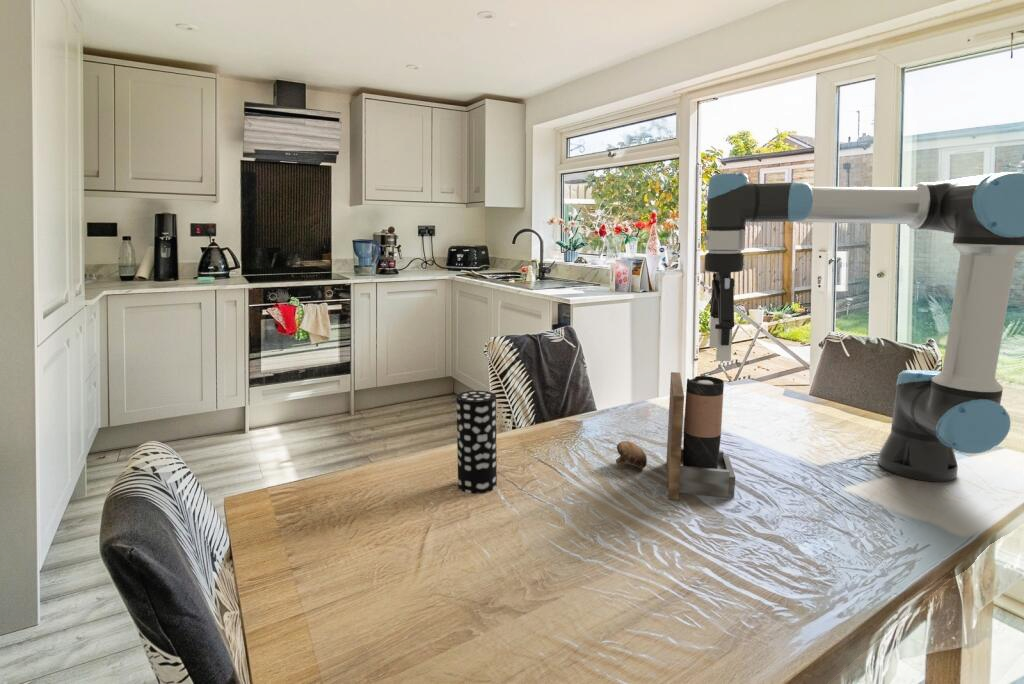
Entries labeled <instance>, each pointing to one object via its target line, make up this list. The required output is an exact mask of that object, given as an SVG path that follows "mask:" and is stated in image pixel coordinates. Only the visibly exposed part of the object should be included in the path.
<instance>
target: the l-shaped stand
mask: <svg viewBox="0 0 1024 684" xmlns="http://www.w3.org/2000/svg"><path fill="white" fill-rule="evenodd" d="M682 381H683V380H682V377H681V372H674V371H673V372H672V371H671V372H670V387H669V405H668V424H667V441H666V444H667V445H666V462H665V463H666V480H667V481H666V482H667V499H668V500H671V501H679V499H680V494H686V495H687V494H689V495H699V496H700V495H701V496H710V497H711V496H712V497H723V498H733V499H735V491H736V490H735V488H736V475H735V471H734V468H733V465H732V463H731V460H730V455H729V454H725V452H724V450H720V449H719V459H718V468H717V469H712V468H700V467H688V466H683V445H682V444H683V443H682V442H683V441H682V438H683V428H684V409H685V393H684V388H683V382H682Z"/></svg>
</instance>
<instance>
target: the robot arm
mask: <svg viewBox="0 0 1024 684" xmlns="http://www.w3.org/2000/svg"><path fill="white" fill-rule="evenodd" d="M749 181H750V180H749V176H748V174H746V173H743V172H739V173H738V172H735V173H734V172H730V173H717V174H714V175H712V176H711V177H710V178H709V181H708V190H707V197H706V201H707V203H706V233H705V234H706V235H705V234H704V235H703V236H702V240H703V241H706V242H705V250H706V251H708V252H706V253H705V254H704V266H703V267H704V268H703V269H704V270H705V272H709V273H710V272H711V273H713V274H712V281H711V298H710V307H709V308H710V309H709V313H710V323H709V324H710V327H709V346H708V347H709V348H710V349H711V348H713V349H715V348H716V352H715V361H716V362H731V361H732V359H731V358H732V343H733V342H732V341H733V328H734V327H735V307H734V306H735V304H734V303H735V298H734V294H735V293H734V288H735V278H733V277H732V273H739V272H742V271H743V270H744V260H745V259H744V258H745V254H743V252H742V251H744V250H745V245H746V243H745V242H746V223H748V222H749V223H763V222H764V223H765V222H767V223H772V222H773V223H825V224H827V223H828V224H829V223H833V224H835V223H838V224H880V225H881V224H887V225H888V224H889V225H891V224H893V225H897V224H898V225H907V227H909V228H910V229H911V230H912V229H913V230H930V231H937V232H944V233H949V234H950V233H951V234H953V241H952V246H953V247H954V248H955V249H956V250H957V251H958V252H959V254H960V256H959V261H958V268H957V272H956V273H957V274H956V281H955V286H954V287H955V288H954V294H953V299H952V305H951V306H952V307H951V312H950V317H949V318H950V319H949V325H948V332H947V338H946V344H945V350H944V357H943V362H942V363H943V364H942V370H928V369H927V370H925V369H906V370H902V371H901V372H899V373H898V376H897V380H896V383H895V393H894V402H893V410H892V411H893V413H892V420H891V427H890V428H891V429H890V432H889V435H888V437H887V439H886V440H885V442H884V444H883V445H882V447H881V449H880V451H879V454H878V464H879V466H880V467H882V468H883V469H884V470H886V471H888V472H890V473H892V474H895V475H898V476H901V477H904V478H909V479H912V478H913V480H917V481H925V482H935V483H936V482H938V483H939V482H950V481H953V480H955V479H956V478H957V476H958V469H959V467H958V461H957V458H956V454H955V451H957V452H960V453H963V454H981V453H985V452H988V451H990V450H992V449H993V448H994V447H997V446H999V445H1000V444H1001V443H1002V442H1003V441H1004V440H1005V439H1006V438H1007V436H1008V434H1009V433H1010V430H1011V422H1012V421H1011V417H1010V415H1009V412H1007V410H1006V408H1005V407H1004V406H1003V405H1002V403H1001V401H1002V396H1003V389H1004V387H1003V385H1001V383H1000V382H999V381H998V380H997V379H996V373H997V368H998V367H997V366H998V362H999V355H1000V351H1001V345H1002V338H1003V334H1004V333H1003V332H1004V328H1005V322H1006V315H1007V310H1008V305H1009V298H1010V294H1011V293H1010V292H1011V287H1012V282H1013V276H1014V270H1015V264H1016V259H1017V256H1018V255H1019V254H1020V253H1022V252H1023V251H1024V172H1018V171H1017V172H1016V171H1015V172H1014V171H1004V172H994V173H989V174H982V175H976V176H975V175H974V176H972V175H971V176H966V177H962V178H961V177H960V178H955V179H950V180H945V181H936V182H918V183H915V185H914V186H912V187H896V186H895V187H891V186H890V187H886V186H884V187H881V186H880V187H878V186H877V187H874V186H873V187H870V186H864V187H863V186H861V187H860V186H858V187H857V186H853V187H852V186H849V187H847V186H846V187H845V186H811V185H810V184H809V183H807V182H795V181H791V182H770V183H768V182H767V183H753V182H752V183H751V182H749Z"/></svg>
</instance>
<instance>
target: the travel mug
mask: <svg viewBox="0 0 1024 684" xmlns="http://www.w3.org/2000/svg"><path fill="white" fill-rule="evenodd" d="M685 388H686V391H685V402H684V417H683V441H682V442H683V443H682V444H683V445H682V447H683V466H688V467H700V468H712V469H717V468H718V459H719V450H720V447H721V437H722V435H721V434H722V422H723V408H724V407H723V406H724V404H723V403H724V388H725V384H724V380H723V379H721V378H718V377H715V376H714V377H713V376H706V375H705V376H704V375H697V376H695V377H694V378H692V379H689V378H687V379H686V387H685Z"/></svg>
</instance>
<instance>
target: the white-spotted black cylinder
mask: <svg viewBox="0 0 1024 684" xmlns="http://www.w3.org/2000/svg"><path fill="white" fill-rule="evenodd" d="M456 441H457V442H456V445H457V446H456V447H457V449H456V451H457V487H458V489H459V490H460V491H461V492H464V493H467V494H475V495H477V494H485V493H490V492H492V491H493V490H495V489H496V488H497V486H498V485H497V484H498V483H497V482H498V481H497V480H498V479H497V477H498V476H497V475H498V473H497V469H498V468H497V394H495V393H494V392H492V391H486V390H468V391H463V392H459V393H458V394H456Z"/></svg>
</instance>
